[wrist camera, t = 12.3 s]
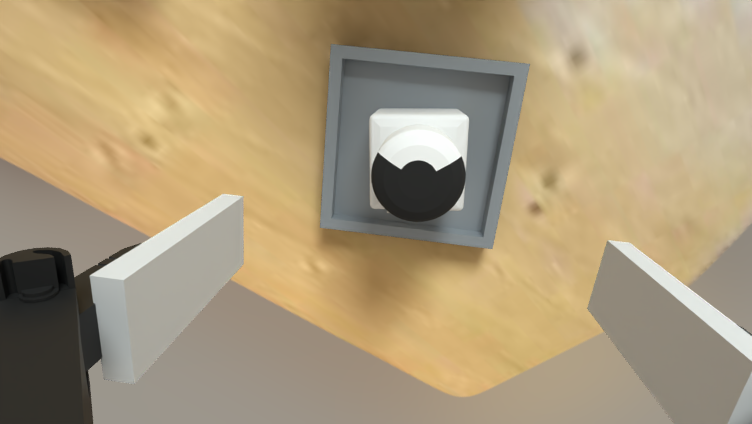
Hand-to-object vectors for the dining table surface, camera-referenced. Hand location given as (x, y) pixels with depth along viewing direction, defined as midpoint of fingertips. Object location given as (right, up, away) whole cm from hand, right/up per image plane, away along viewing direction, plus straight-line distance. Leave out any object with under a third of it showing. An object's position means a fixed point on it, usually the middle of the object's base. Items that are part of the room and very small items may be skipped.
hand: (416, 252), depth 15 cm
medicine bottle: (+2, +7, +22) cm, 24 cm away
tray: (+2, +7, +23) cm, 24 cm away
